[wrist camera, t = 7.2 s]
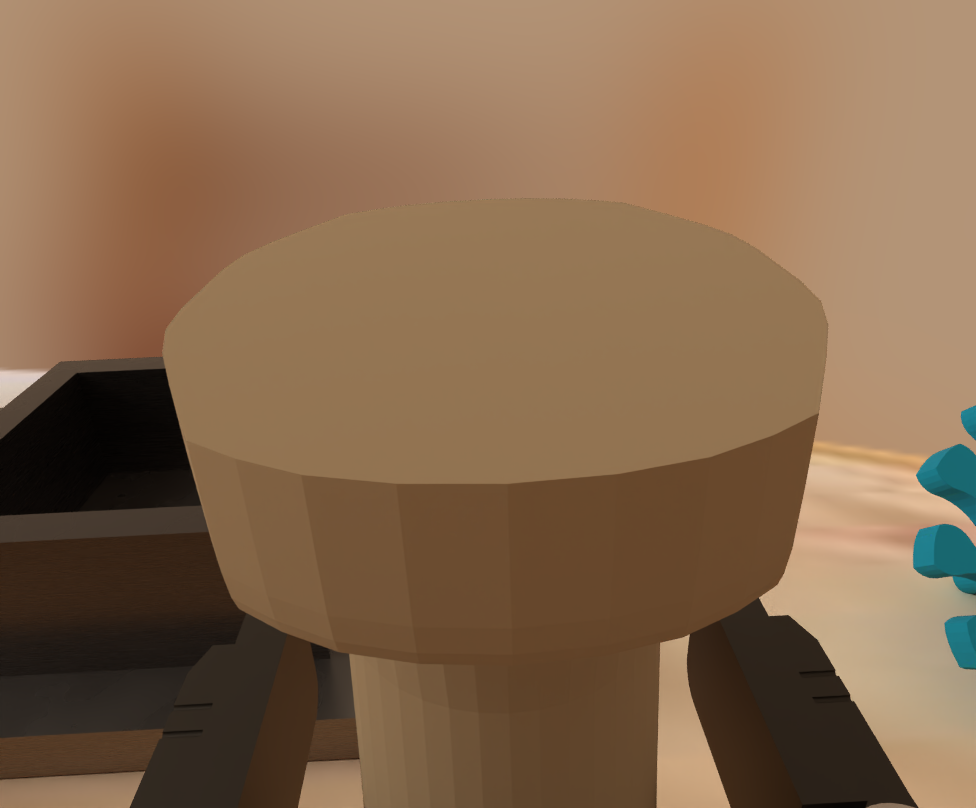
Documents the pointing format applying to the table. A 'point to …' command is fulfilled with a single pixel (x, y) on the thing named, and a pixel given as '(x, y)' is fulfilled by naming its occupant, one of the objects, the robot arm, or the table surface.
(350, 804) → the table surface
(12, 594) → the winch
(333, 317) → the handle
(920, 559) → the teal lobed piece
